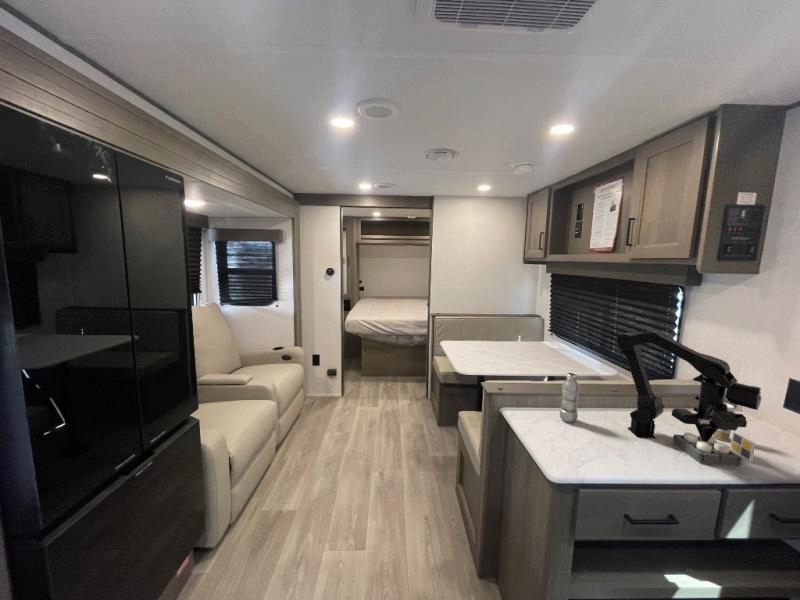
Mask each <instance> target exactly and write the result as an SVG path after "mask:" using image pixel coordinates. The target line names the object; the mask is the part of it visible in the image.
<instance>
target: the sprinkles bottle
mask: <svg viewBox="0 0 800 600" xmlns="http://www.w3.org/2000/svg"><path fill="white" fill-rule="evenodd" d="M724 403H725V404H727V410H728V411H732V412H734V413H735V406H734V404H730V403H727V402H724ZM731 431H732V430H722V429H718V430H717V431H716V432H715V433H714V434H713V435H712V436H713V437H714V438H715V440H719V441H723V442H730V440H731V439H730V437H731Z"/></svg>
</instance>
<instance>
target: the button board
mask: <svg viewBox="0 0 800 600" xmlns="http://www.w3.org/2000/svg"><path fill="white" fill-rule="evenodd" d="M697 436H698V441H700V435H697ZM683 439H684V434H673V437H672V443H673V444H674V445H675V446H677V447H678V448H679V449H680V450H681V451H683V452H684V453H686V454H687V455H689V457H690V458H692V459H693V460H695V461H696V462H698V463H699V464H702V465H703V464H704V465H717V466H731V467H732V466H733V467H740V466H741V460H742V457H741V456H739V455H737V454H736V453H734V452H733V451H731V450H729V455H726V454H719V453H718V452H716V451H715V450H713V449H714V445H711V446H712V450H711V453H702V452H700V451H699V450H697V449H696V446H697V444H691V443H688V442H686V441H685V440H683ZM715 442H718V440H717V441H716V440H715ZM715 442H714V443H715Z"/></svg>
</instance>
